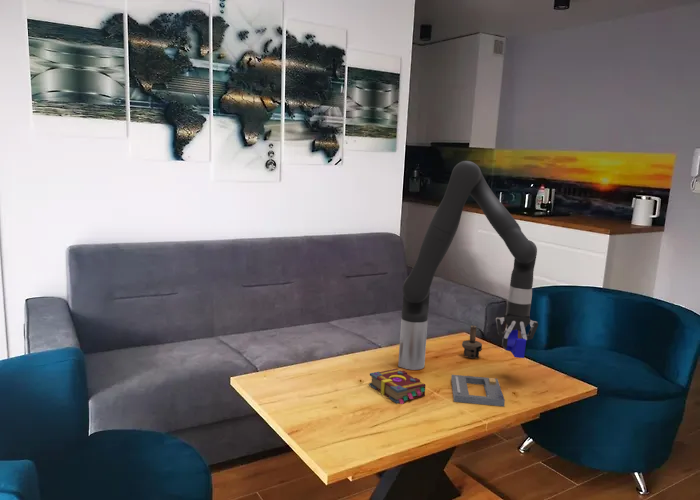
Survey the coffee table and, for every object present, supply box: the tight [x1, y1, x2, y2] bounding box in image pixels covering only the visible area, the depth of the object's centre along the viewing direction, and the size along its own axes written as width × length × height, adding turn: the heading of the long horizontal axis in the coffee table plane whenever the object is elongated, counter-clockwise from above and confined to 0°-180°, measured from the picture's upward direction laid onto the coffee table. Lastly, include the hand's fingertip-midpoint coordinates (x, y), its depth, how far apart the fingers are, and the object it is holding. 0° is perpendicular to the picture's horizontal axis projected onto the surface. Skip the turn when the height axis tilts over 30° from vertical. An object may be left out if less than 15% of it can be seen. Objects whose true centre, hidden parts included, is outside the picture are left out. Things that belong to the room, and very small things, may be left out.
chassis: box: [450, 374, 506, 407], centre depth 176 cm, size 15×17×3 cm
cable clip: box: [501, 330, 527, 359], centre depth 185 cm, size 12×4×6 cm, turn 177°
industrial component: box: [461, 324, 483, 359], centre depth 208 cm, size 9×7×12 cm
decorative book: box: [368, 368, 426, 405], centre depth 174 cm, size 11×16×5 cm
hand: (513, 349), depth 185 cm, fingers closed on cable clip, 4 cm apart
